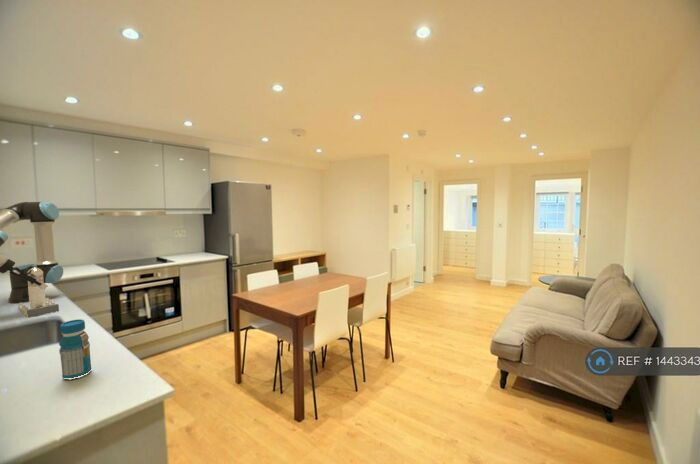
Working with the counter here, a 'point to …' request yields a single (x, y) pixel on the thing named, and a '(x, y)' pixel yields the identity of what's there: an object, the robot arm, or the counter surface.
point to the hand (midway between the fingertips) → (44, 286)
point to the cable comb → (24, 308)
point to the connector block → (42, 310)
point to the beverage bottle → (74, 349)
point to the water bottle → (36, 289)
